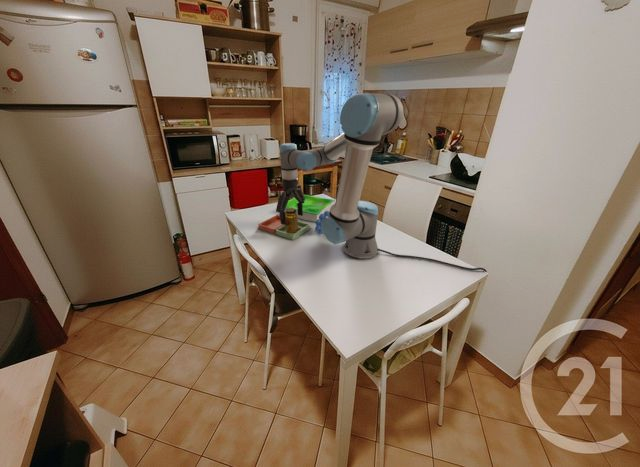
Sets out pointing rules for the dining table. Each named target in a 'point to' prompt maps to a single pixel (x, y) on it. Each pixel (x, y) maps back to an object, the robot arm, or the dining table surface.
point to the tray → (311, 207)
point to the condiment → (291, 221)
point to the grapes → (318, 222)
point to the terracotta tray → (271, 224)
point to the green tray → (292, 236)
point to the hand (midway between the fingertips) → (292, 219)
